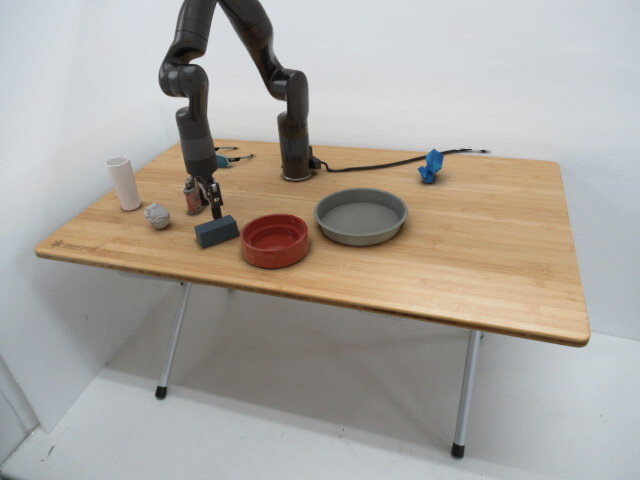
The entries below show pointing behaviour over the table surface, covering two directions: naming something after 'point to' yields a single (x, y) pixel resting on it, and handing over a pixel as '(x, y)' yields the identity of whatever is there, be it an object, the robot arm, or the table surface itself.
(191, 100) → the robot arm
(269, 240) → the bowl
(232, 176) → the table surface
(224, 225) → the blue rectangular block
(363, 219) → the cake pan
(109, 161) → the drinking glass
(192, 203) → the lighter
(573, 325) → the table surface
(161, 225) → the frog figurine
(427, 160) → the crystal
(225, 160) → the sunglasses
